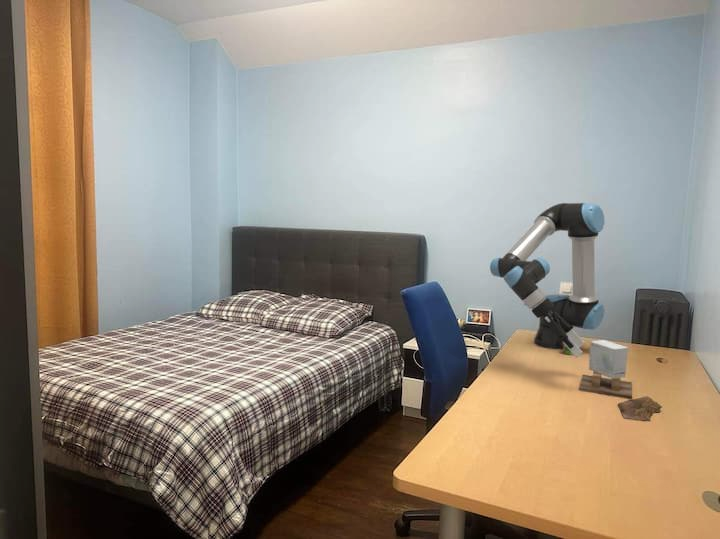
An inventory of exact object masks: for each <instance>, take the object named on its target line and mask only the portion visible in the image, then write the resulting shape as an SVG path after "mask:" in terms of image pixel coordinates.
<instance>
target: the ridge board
mask: <svg viewBox="0 0 720 539" xmlns="http://www.w3.org/2000/svg"><path fill="white" fill-rule="evenodd" d="M621 379H622V377H621V378H614V379H612V378H609V377H602V374H599V373H597V372H594V371H592V375H588V374H582V375H581V380H580V383H579V387H578V391H581V392H587V393H593V394H599V395H605V396H611V397H617V398H622V399H627V400H632V399H633V383H632V381H627V380H621Z"/></svg>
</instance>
